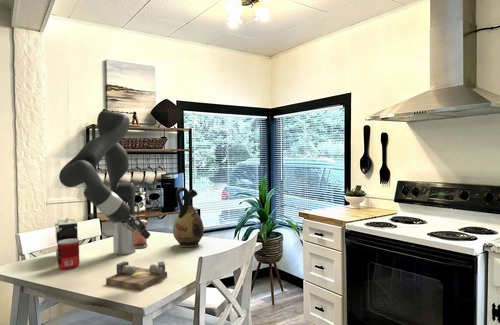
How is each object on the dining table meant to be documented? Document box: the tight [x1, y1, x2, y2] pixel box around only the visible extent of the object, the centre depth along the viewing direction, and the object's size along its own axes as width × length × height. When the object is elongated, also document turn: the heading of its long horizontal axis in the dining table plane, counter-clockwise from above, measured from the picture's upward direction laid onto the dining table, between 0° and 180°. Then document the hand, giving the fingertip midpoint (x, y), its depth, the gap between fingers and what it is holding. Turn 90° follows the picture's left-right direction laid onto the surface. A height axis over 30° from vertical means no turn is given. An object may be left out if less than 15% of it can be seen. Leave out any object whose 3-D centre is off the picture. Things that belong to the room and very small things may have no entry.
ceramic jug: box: [172, 186, 205, 248], centre depth 176 cm, size 17×15×30 cm
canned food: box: [56, 239, 80, 271], centre depth 144 cm, size 8×8×11 cm
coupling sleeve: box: [133, 218, 148, 250], centre depth 126 cm, size 5×5×10 cm
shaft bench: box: [105, 260, 168, 291], centre depth 127 cm, size 17×14×6 cm
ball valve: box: [54, 217, 79, 258], centre depth 159 cm, size 18×8×18 cm, turn 31°
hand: (144, 235), depth 128 cm, fingers closed on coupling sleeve, 4 cm apart
